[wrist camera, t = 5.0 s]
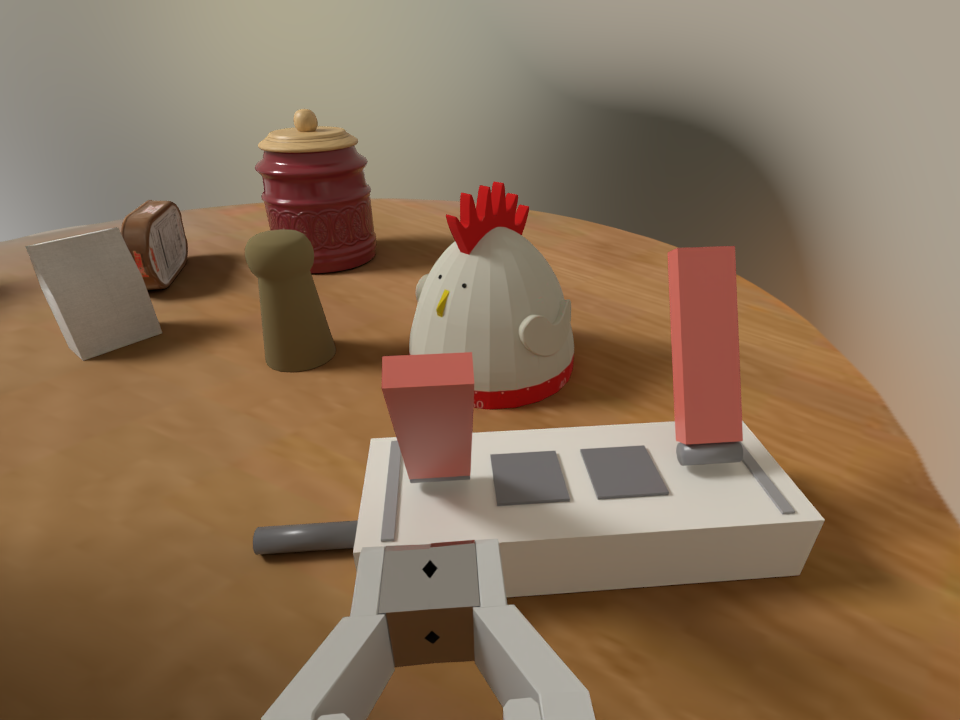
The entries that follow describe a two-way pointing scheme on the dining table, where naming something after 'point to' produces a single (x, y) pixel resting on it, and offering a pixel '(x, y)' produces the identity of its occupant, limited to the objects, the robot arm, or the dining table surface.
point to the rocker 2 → (705, 355)
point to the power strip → (584, 511)
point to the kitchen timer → (496, 305)
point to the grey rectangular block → (94, 291)
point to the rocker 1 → (431, 413)
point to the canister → (319, 191)
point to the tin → (156, 242)
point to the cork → (289, 301)
